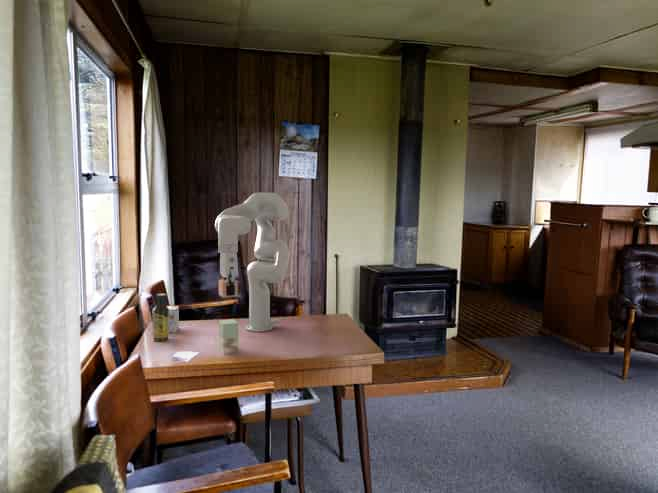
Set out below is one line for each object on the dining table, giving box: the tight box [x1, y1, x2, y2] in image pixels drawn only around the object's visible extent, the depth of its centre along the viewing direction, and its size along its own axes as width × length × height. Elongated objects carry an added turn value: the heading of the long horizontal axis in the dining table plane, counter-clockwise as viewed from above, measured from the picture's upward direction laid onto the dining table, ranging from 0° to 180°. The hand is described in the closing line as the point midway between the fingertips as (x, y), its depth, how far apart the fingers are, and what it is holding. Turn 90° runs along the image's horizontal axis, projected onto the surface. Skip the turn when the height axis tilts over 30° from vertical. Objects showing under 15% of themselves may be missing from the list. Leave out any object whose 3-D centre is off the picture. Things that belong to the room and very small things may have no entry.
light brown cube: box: [218, 279, 239, 298], centre depth 195 cm, size 6×6×6 cm
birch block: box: [218, 334, 239, 355], centre depth 198 cm, size 6×6×6 cm
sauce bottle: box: [152, 293, 170, 342], centre depth 210 cm, size 7×6×20 cm
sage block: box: [218, 318, 239, 339], centre depth 197 cm, size 6×6×6 cm
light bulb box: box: [151, 305, 180, 333], centre depth 225 cm, size 11×7×11 cm, turn 95°
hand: (228, 293), depth 196 cm, fingers closed on light brown cube, 6 cm apart
